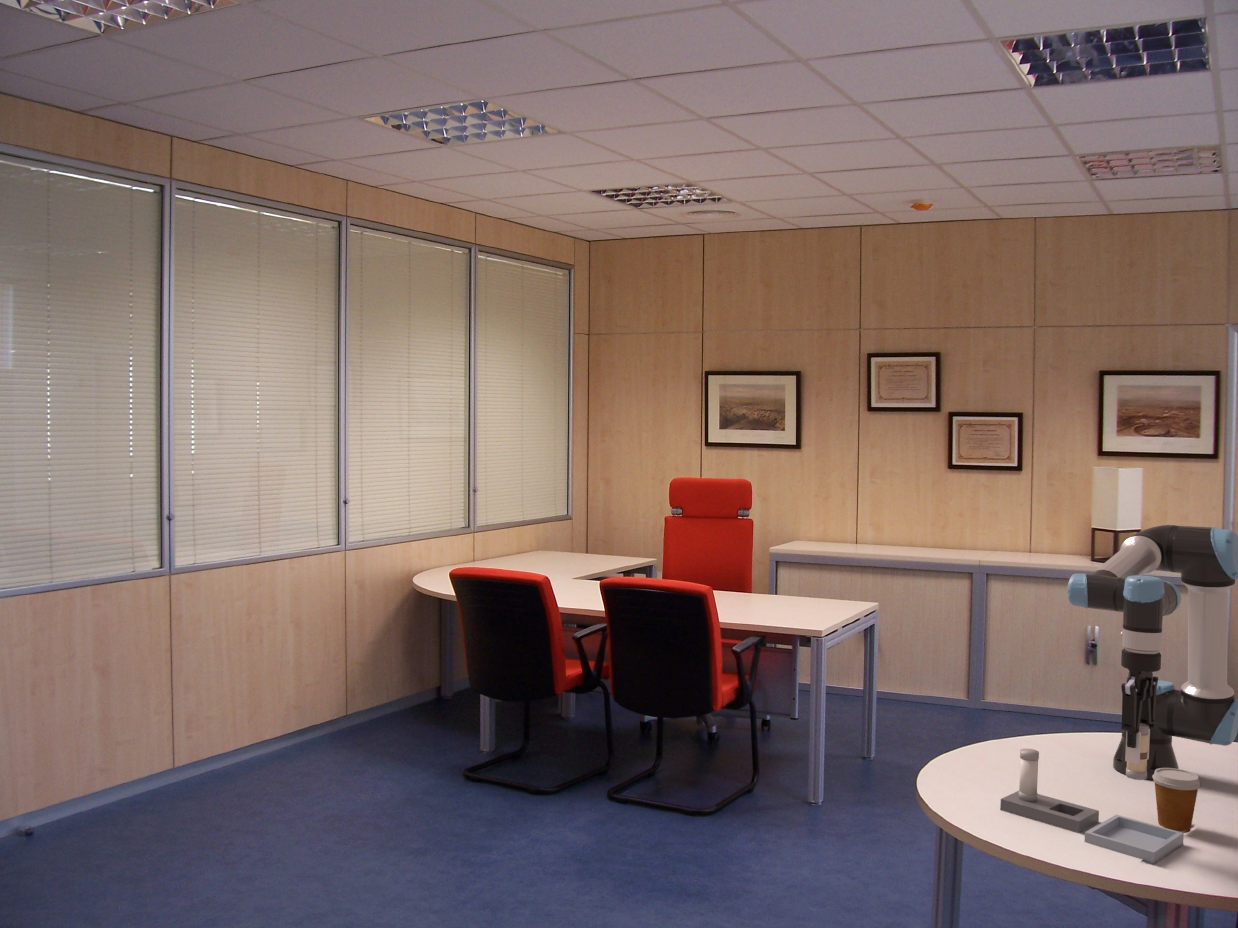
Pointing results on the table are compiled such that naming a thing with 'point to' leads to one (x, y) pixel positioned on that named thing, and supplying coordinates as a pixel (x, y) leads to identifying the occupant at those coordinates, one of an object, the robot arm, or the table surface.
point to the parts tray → (1135, 838)
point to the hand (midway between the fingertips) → (1136, 759)
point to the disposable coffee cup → (1175, 797)
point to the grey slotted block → (1045, 800)
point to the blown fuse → (1140, 769)
